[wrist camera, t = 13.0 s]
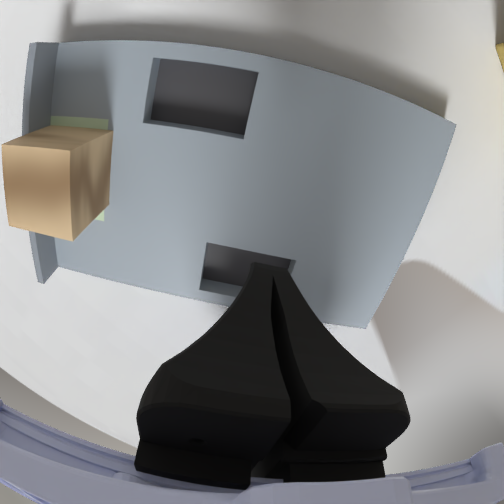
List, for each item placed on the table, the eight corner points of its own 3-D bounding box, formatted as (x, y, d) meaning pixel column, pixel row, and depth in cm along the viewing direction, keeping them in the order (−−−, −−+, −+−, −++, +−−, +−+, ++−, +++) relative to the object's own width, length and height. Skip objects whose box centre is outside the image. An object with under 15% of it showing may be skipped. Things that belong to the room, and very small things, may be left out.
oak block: (109, 204, 19) (72, 241, 15) (50, 193, 19) (9, 225, 15) (113, 130, 17) (70, 150, 12) (50, 125, 16) (1, 144, 12)
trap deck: (361, 315, 26) (372, 350, 22) (61, 254, 23) (38, 281, 20) (444, 120, 17) (477, 132, 13) (65, 44, 15) (29, 43, 11)
